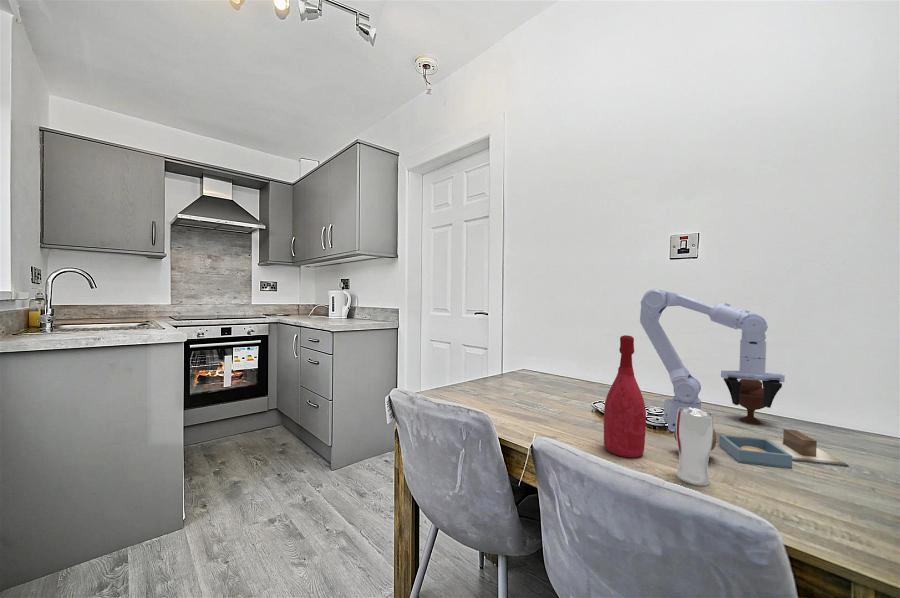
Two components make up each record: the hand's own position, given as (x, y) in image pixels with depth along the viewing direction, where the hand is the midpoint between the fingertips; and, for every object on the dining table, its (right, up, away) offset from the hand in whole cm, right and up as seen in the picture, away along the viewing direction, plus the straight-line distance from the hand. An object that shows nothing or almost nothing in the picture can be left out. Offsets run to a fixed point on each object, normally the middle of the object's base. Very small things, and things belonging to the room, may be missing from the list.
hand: (751, 405), depth 108 cm
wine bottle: (-40, -10, -8) cm, 42 cm away
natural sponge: (-23, -10, -11) cm, 27 cm away
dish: (-7, -10, -10) cm, 16 cm away
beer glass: (-31, -10, -23) cm, 40 cm away
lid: (+7, -10, -7) cm, 14 cm away
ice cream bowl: (+15, -11, +19) cm, 26 cm away
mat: (+7, -11, -7) cm, 15 cm away
